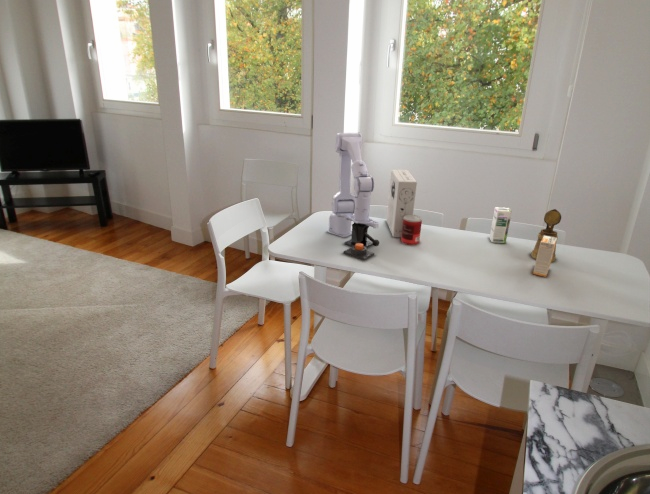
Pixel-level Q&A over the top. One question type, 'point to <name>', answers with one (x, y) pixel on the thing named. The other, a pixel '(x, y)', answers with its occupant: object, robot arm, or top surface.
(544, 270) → the supplement box
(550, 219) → the brass disc-topped stand
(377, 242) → the lever
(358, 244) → the button
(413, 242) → the canned food
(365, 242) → the bracket
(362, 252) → the control block
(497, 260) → the top surface
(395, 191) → the cereal box
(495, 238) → the syrup box
